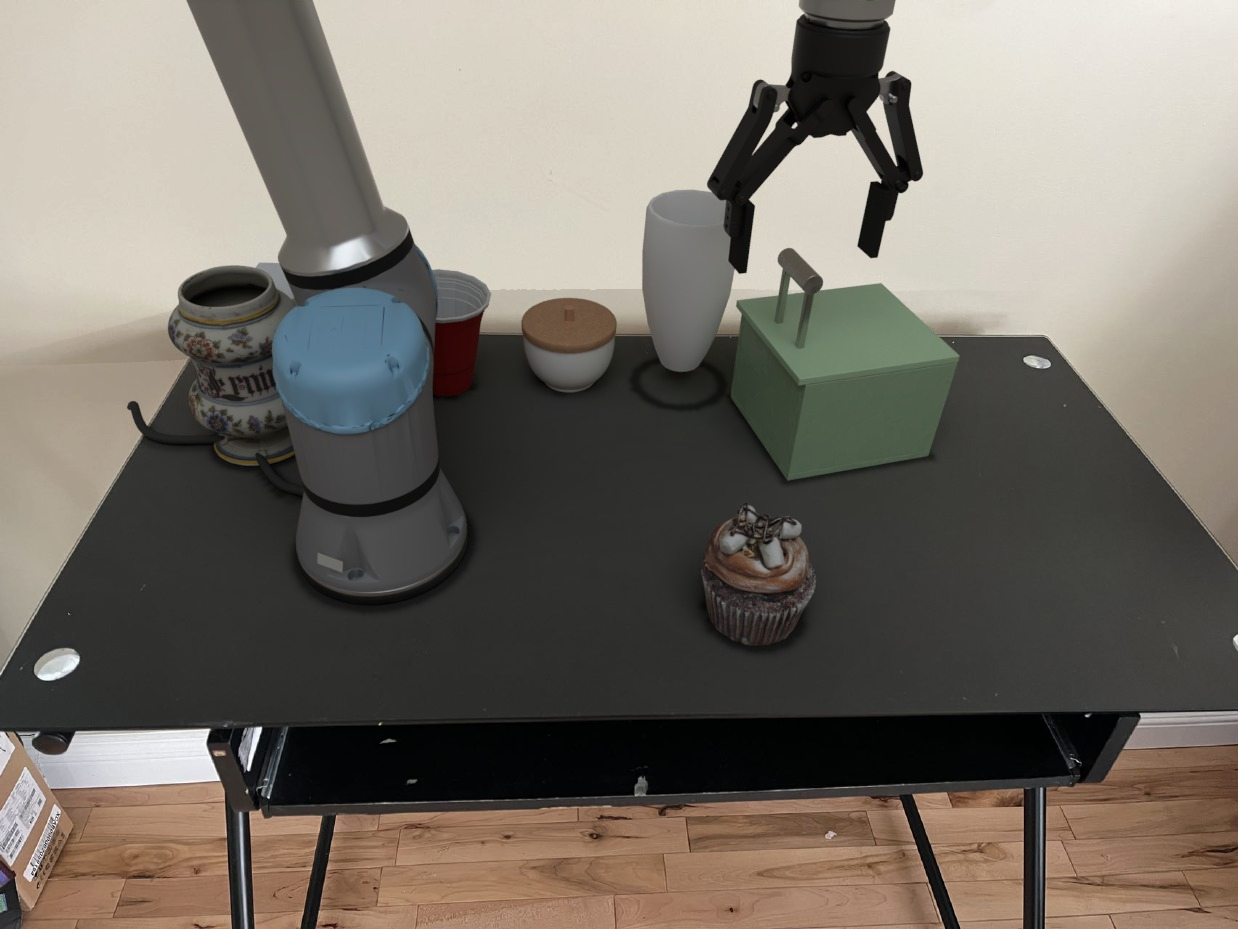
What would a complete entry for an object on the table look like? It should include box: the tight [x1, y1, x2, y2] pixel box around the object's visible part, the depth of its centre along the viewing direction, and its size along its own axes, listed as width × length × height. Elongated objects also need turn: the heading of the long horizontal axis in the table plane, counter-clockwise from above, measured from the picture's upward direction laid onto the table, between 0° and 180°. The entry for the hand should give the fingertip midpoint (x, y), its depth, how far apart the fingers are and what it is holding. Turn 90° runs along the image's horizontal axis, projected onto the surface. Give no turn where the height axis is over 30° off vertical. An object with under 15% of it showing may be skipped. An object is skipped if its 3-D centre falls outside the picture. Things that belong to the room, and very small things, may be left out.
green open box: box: [730, 314, 958, 481], centre depth 97 cm, size 17×16×12 cm
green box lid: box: [735, 247, 961, 386], centre depth 91 cm, size 17×16×9 cm
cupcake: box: [700, 502, 817, 647], centre depth 76 cm, size 10×10×10 cm
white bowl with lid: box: [520, 297, 618, 393], centre depth 104 cm, size 11×11×9 cm
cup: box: [641, 189, 736, 373], centre depth 100 cm, size 10×10×22 cm
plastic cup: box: [432, 268, 492, 397], centre depth 101 cm, size 11×11×12 cm
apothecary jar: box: [167, 264, 296, 467], centre depth 90 cm, size 12×12×18 cm
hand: (803, 259), depth 86 cm, fingers open, 13 cm apart
